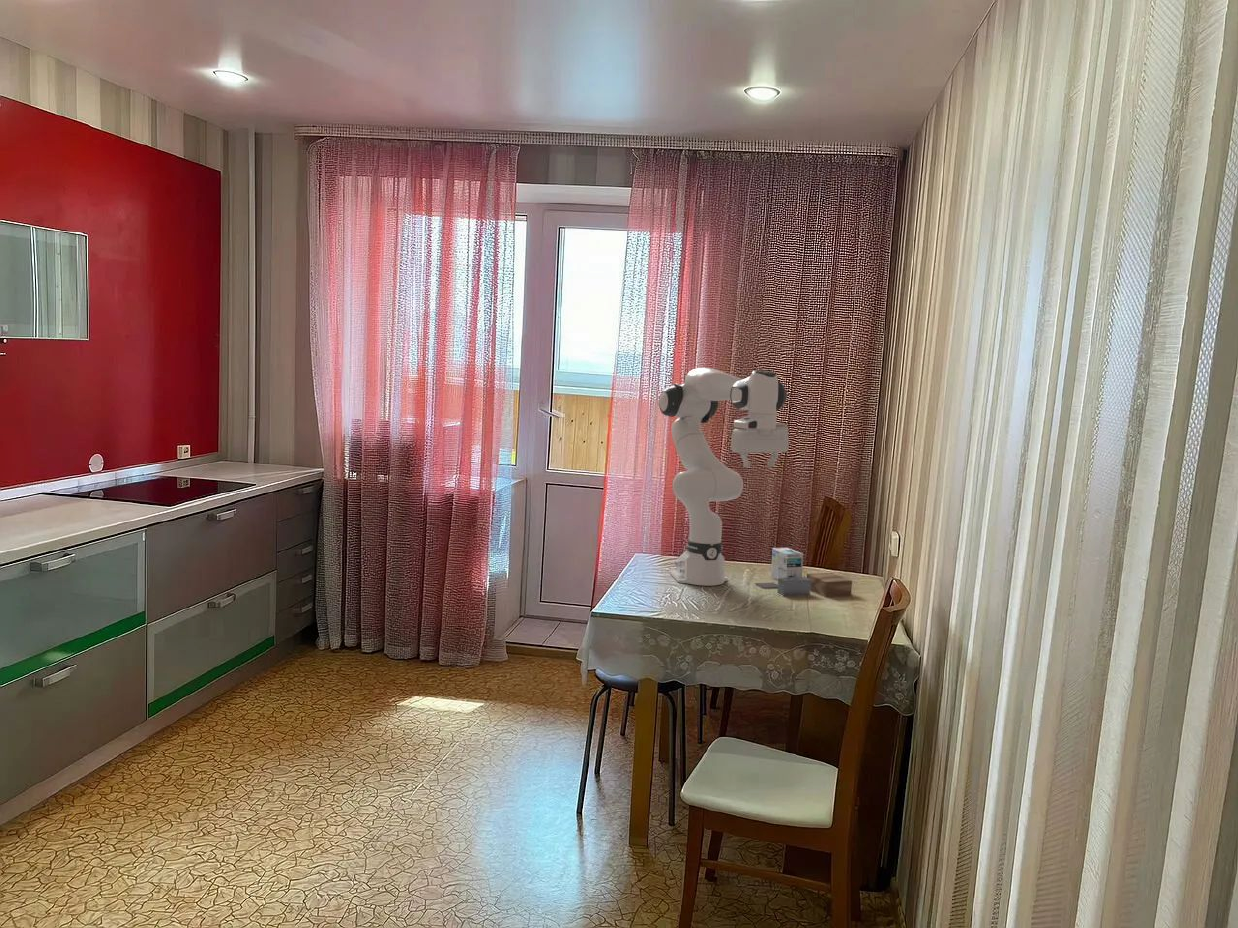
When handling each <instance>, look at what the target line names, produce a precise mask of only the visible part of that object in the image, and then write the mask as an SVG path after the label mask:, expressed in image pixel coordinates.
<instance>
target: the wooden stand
mask: <svg viewBox="0 0 1238 928" xmlns="http://www.w3.org/2000/svg"><path fill="white" fill-rule="evenodd" d="M806 578H808V579H811V587H810V592H813V591H814V592H813V593H816V594H818V595H820V596H822V597H824V598H829V597H849V596H850V597H851V596H852V588H853V581H852V580H851V579H849V578H846V577H843V576H841V575H839V574H836V573H833V572H821V573H820V572H819V573H807V574H806Z"/></svg>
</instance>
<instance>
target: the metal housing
mask: <svg viewBox="0 0 1238 928" xmlns="http://www.w3.org/2000/svg"><path fill="white" fill-rule="evenodd" d="M777 585H778V588H777V593H779V594H781V595H783V596H788V597H801V595H807V596H810V595H811V590H810V587H811V579H808V578H807V576H802V577H788V578H778V580H777ZM779 594H778V595H779ZM781 595H780V596H781ZM799 595H800V596H799ZM783 596H782V597H783Z"/></svg>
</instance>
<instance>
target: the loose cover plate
mask: <svg viewBox="0 0 1238 928" xmlns="http://www.w3.org/2000/svg"><path fill="white" fill-rule="evenodd" d="M755 584H756V585H755ZM754 585H755V586H757V587H759V588H761V589H763V588H764V590H765V588H768V589H778V583H774V582H755V583H754Z"/></svg>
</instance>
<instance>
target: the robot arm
mask: <svg viewBox="0 0 1238 928" xmlns="http://www.w3.org/2000/svg"><path fill="white" fill-rule="evenodd" d="M787 398H788V393H787V390H786V387H785V386H784V385H783V383H782V382H781V381H780V380H779V379H778V375H777V374H776V373H775V372H774V371H771V370H766V369H755V370H753V371H752V372H751V374H750V375H749V376H748V377H745V378H741V377H739V376H735V375H733V374H730V373H727V372H724V371H721V370H718V369H715V368H710V367H697V368H693V369H691V370H689V372H687V374H686V376H685V379H684V382H683V383H682V384H679V383H678V382H677V383H674V384H673V385H671V386H668V387H666V388H665V389H663V391H661V393H660V395H659V397H658V408H659V410H660V412H661V413H662V415H663V416H667V417H671V418H674V417H675V418H676V419H675V420H674V421H673V423H672V425H671V429H670V430H671V436H672V440H673V445H674V447H675V449H676V453H677V454H678V457H679V460H680V462H681V464H682V466H683V468H684V469H685V470H684V471H680V472H679V471H678V473H676V475H675V476H674V477H673V480H672V487H671V488H672V492H673V494H674V496H675V498H677V499H678V500H679V501H680V502H681V503H682V504H683V506H684V507H685V510H686V512H687V514H688V519H689V521H688V522H689V523H688V524H689V530H688V531H689V534H688V535H689V536H688V539H687V542H686V547H685V551H684V552H683V553H682V554H681V555H680V556H679V557H677V559H676V560H675V562H674V563H675V564H674V565H675V566H674V567H675V568H676V569H675V568H674V569H670V571H669V574H670V575H671V577H673V579H674V580H675V581H677V583H680V584H690V585H695V586H696V585H697V586H705V587H706V586H719V585H722V584H724V583H726V582H728V581H729V580H728V579H729V577H727V576H726V567H725V566H726V563H725V562H726V561H725V556H723V554H722V552H723V542H722V534H723V533H722V532H723V531H722V530H723V520H722V519H721V517H720V516H719V515H718V514H717V513H716V512H713V511H712V510H711V508H710V502H729V501H731V500H735V499H738V498H739V497H740V496H741V494H742V493H743V490H744V481H743V478H742V476H741V475H740V473H739V472H737V471H736V470H733V469H732V468H729V467H728V466H726V465H725V464H724V463H723V462H721V460H720V459H718V457H716V456H715V454H714V453H713V452H712V449H711V448H710V446H709V443H708V441H707V439H706V436H705V434H704V432H703V430H702V427H701V424H706V423H708V422H709V420H711V418H713V416H715V414H716V412H717V411H718V408H719V402H723V401H730V402H731V404H732V405H733V406H734V408H736V409H738V410H741V411H742V410H745V411H748V412H747V415H746V416H743V417H742V418H741V417H740V418H739V419H735V420H734V421H733V427H734V429H733V430H732V433H731V440H730V449H731V451H732V452H733V453H737V454H740V458H741V459H742V462H743V463H742V466H743V468H750V467H751V461H749V460H748V456H749V453H750V454H751V453H752V454H753V453H758V454H759V453H770V459H769V460H767V467H770V468H774V467H775V464H776V461H777V459H778V457H779V453H787V452H788V450H789V446H790V444H789V442H790V441H789V426H788V425H787V424H785V422H777V417H778V415H777V412H778V411H779V410H781V408H782V407H783V406H785V403H786V402H787Z"/></svg>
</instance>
